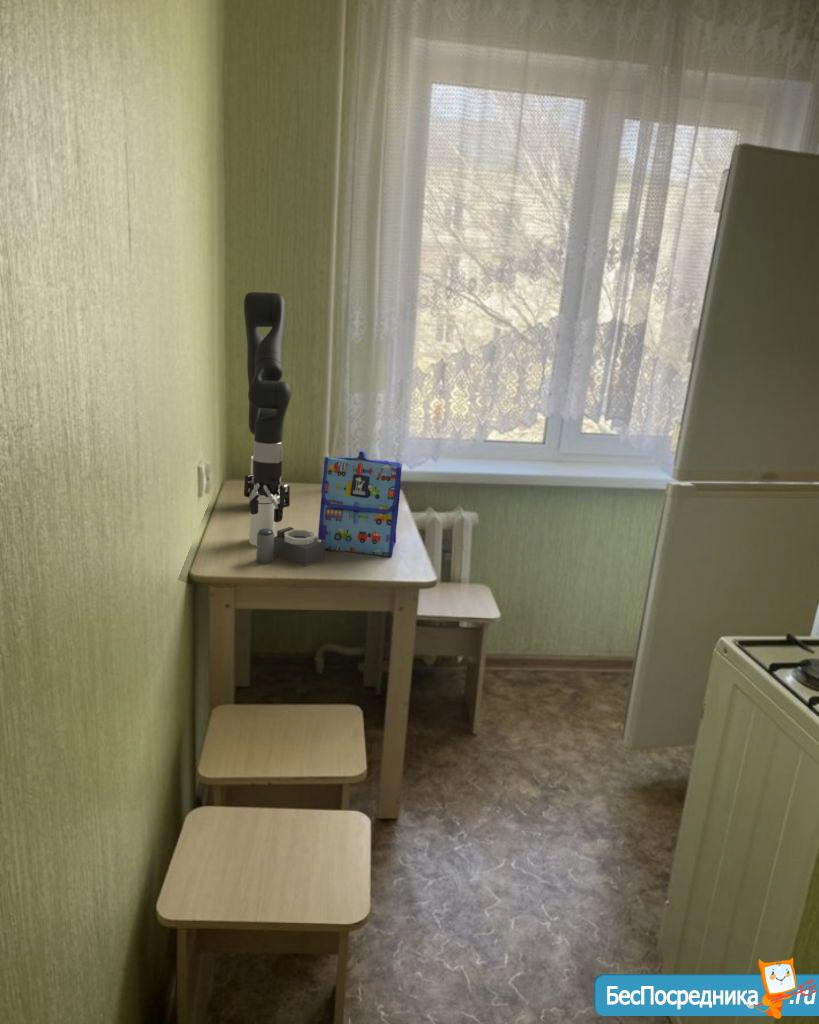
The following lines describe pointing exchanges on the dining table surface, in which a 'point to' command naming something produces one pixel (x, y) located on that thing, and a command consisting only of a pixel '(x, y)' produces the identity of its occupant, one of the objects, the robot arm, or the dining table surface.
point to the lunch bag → (359, 504)
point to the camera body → (298, 546)
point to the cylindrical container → (261, 516)
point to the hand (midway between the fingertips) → (265, 517)
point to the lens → (265, 546)
